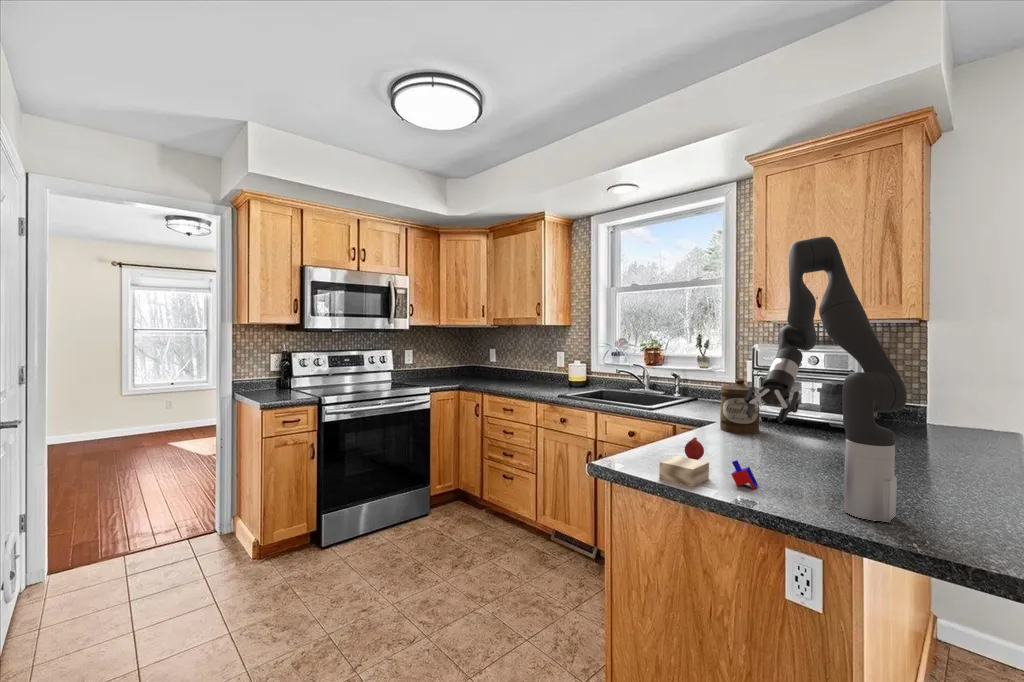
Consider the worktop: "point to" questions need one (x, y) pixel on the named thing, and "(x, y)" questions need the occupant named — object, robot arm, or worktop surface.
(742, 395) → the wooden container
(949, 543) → the worktop surface
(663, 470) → the maple block
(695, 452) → the onion
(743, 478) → the toy building block
